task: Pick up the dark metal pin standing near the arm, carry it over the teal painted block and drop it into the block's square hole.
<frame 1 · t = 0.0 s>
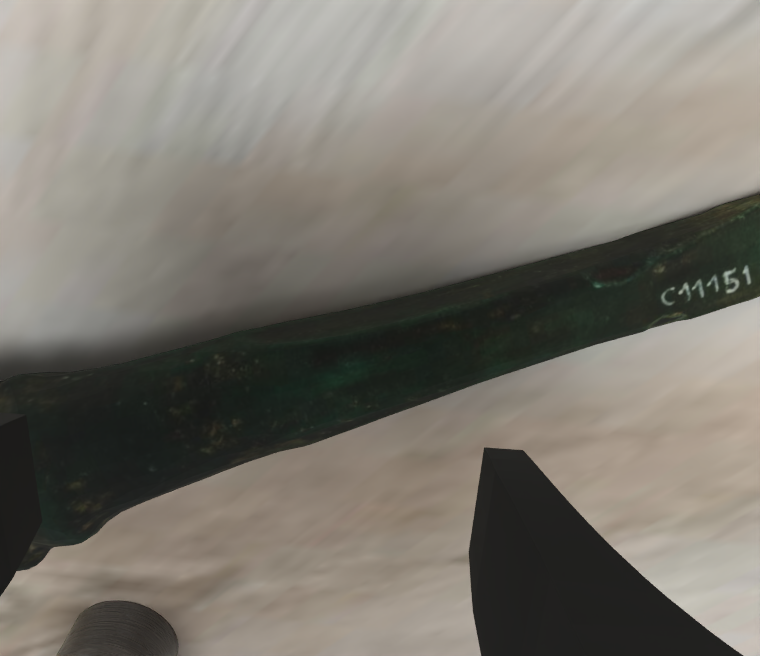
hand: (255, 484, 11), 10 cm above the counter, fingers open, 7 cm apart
tool: (323, 315, 21), on the counter
pin: (125, 641, 26), on the counter
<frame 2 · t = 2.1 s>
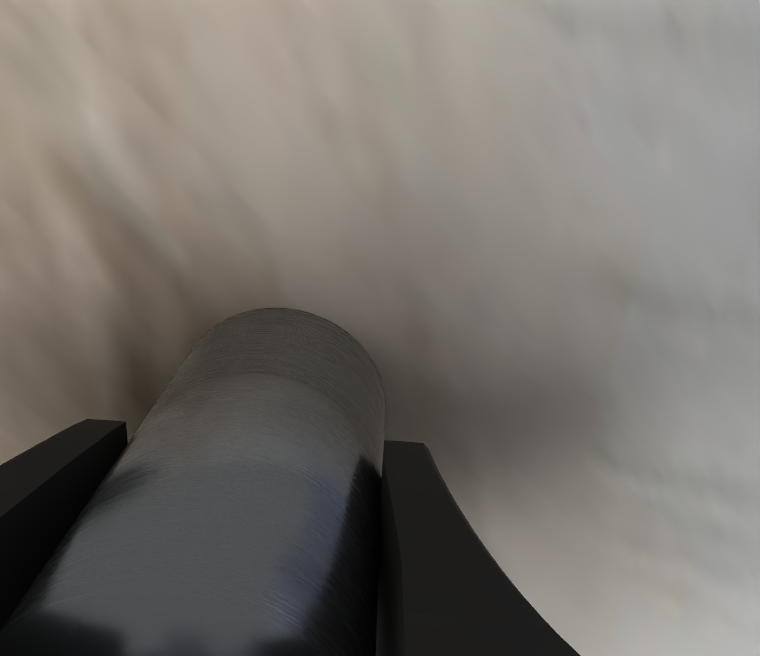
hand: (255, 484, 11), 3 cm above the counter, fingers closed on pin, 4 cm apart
pin: (282, 404, 13), on the counter, touching gripper
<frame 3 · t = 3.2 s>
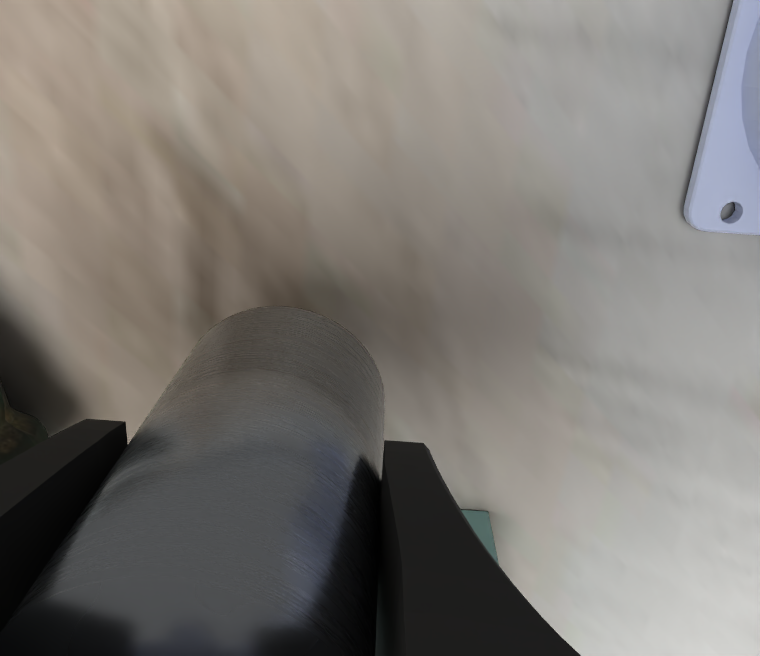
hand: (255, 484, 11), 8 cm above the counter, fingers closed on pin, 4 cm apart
hole block: (269, 635, 22), on the counter
pin: (283, 401, 13), point 5 cm above the counter, touching gripper
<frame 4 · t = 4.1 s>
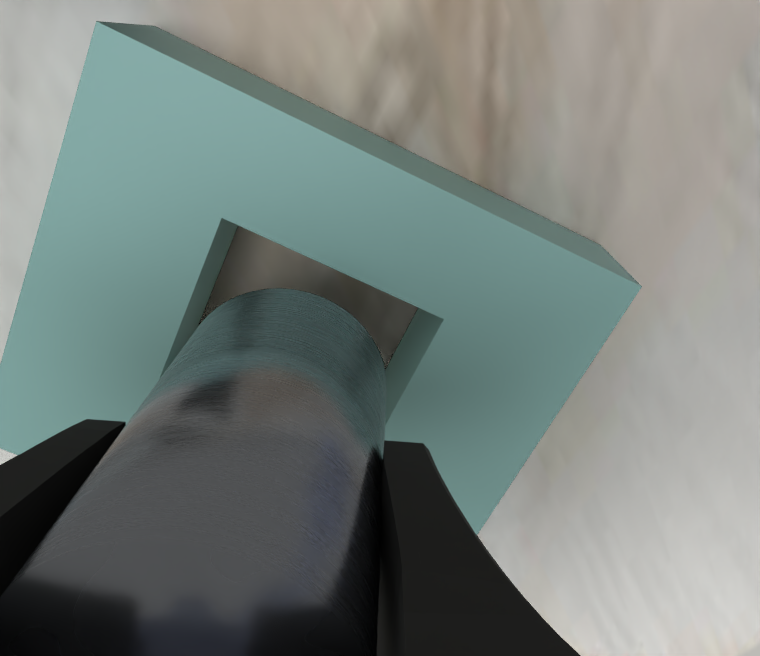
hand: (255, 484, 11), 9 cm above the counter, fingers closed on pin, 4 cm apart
hole block: (307, 315, 20), on the counter
pin: (284, 385, 13), point 7 cm above the counter, touching gripper
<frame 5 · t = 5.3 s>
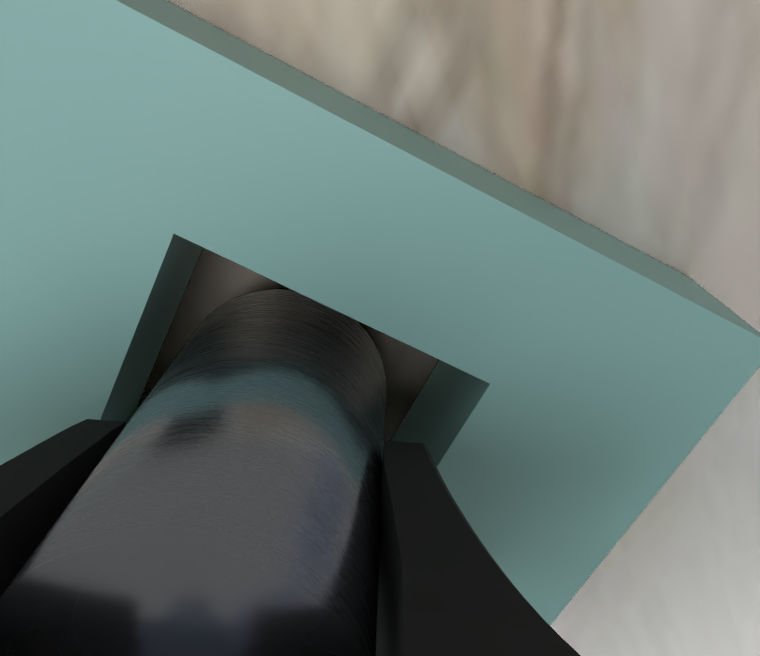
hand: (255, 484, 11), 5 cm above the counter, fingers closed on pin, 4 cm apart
hole block: (297, 359, 15), on the counter
pin: (284, 385, 13), point 2 cm above the counter, touching gripper
when the fingers open (4 cm above the counter, at t = 6.2 s): pin drops 2 cm, on the counter.
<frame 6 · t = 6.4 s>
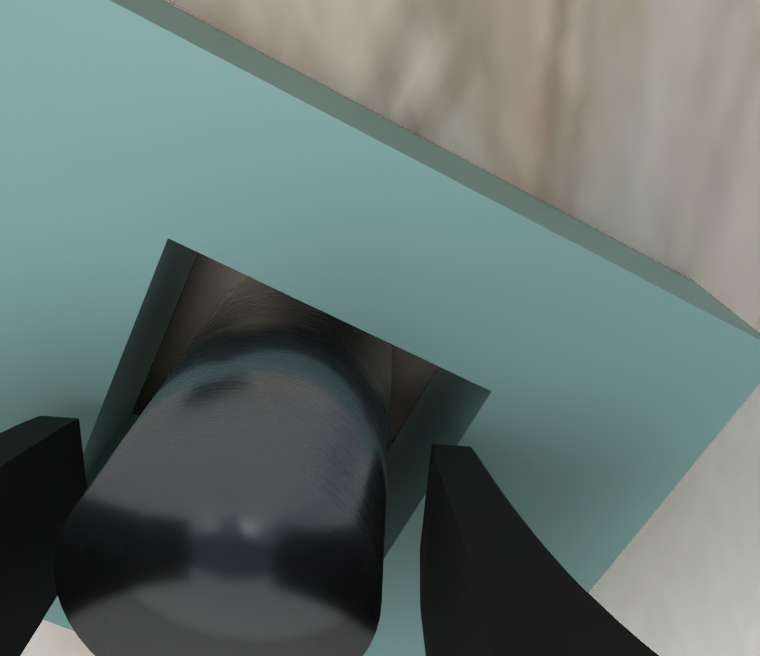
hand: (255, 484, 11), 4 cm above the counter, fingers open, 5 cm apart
hole block: (294, 364, 15), on the counter
pin: (300, 353, 15), on the counter
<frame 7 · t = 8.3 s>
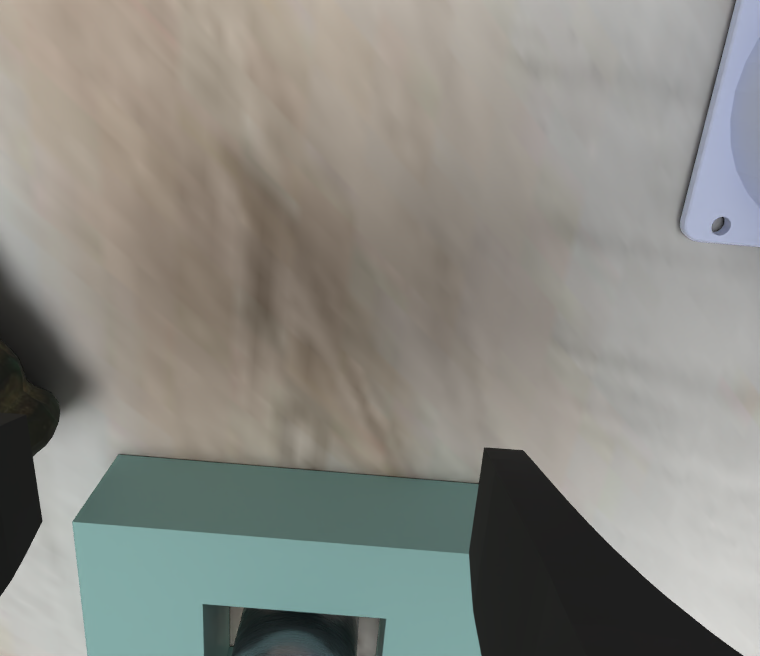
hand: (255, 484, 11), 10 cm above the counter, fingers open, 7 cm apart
hole block: (305, 596, 25), on the counter
pin: (305, 590, 25), on the counter
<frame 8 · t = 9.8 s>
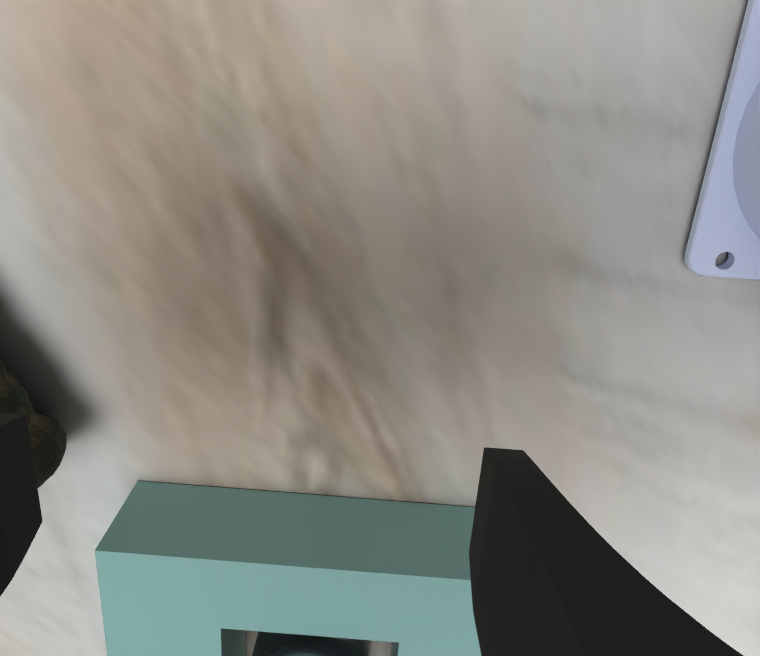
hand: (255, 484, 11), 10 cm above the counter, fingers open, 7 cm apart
hole block: (319, 616, 26), on the counter
pin: (319, 610, 25), on the counter
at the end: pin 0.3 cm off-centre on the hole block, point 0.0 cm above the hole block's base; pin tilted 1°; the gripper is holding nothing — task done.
